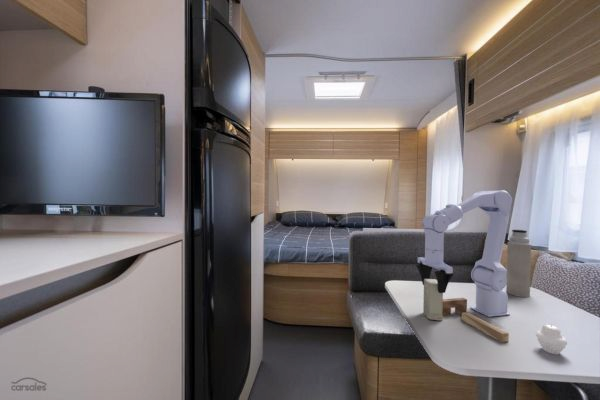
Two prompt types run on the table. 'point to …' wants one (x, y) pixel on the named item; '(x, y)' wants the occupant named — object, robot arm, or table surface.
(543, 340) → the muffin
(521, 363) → the table surface
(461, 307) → the tall wooden block
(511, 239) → the thermos bottle
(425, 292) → the skincare box
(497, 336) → the oak rail
